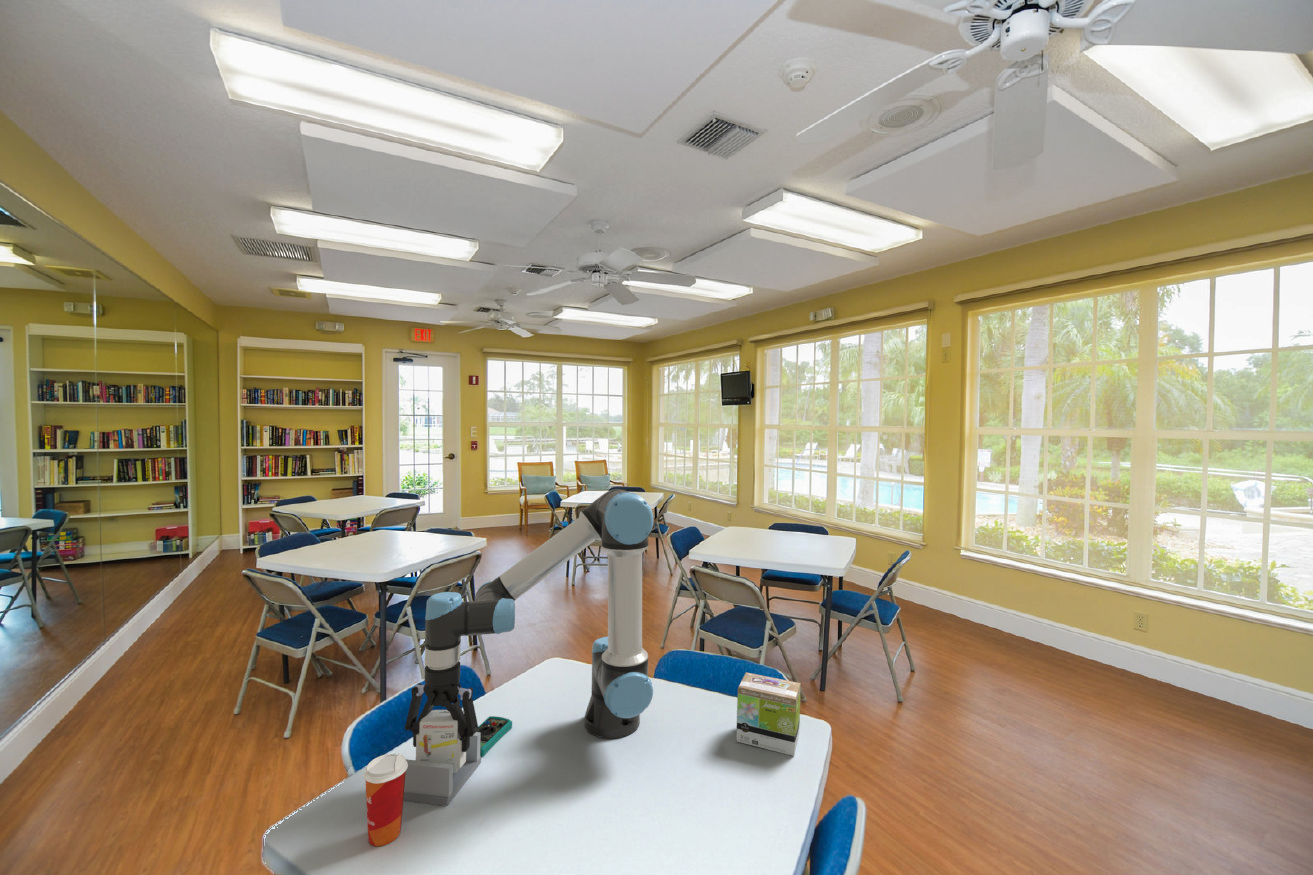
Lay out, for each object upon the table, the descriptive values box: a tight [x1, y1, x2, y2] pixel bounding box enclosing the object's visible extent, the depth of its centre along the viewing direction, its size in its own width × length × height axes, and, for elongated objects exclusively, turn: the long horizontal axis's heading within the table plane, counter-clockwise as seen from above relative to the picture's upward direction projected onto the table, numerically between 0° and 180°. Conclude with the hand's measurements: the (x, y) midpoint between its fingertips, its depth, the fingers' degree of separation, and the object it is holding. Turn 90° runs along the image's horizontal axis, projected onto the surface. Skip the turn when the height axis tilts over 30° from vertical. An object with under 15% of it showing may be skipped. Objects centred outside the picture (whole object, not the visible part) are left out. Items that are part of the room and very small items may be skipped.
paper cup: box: [363, 753, 408, 847], centre depth 102 cm, size 8×8×14 cm
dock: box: [403, 732, 482, 807], centre depth 118 cm, size 12×15×8 cm
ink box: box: [419, 709, 464, 773], centre depth 118 cm, size 9×5×12 cm, turn 95°
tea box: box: [736, 672, 802, 757], centre depth 137 cm, size 15×10×15 cm, turn 68°
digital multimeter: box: [477, 715, 513, 759], centre depth 135 cm, size 7×15×3 cm, turn 165°
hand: (440, 762), depth 118 cm, fingers closed on ink box, 9 cm apart
